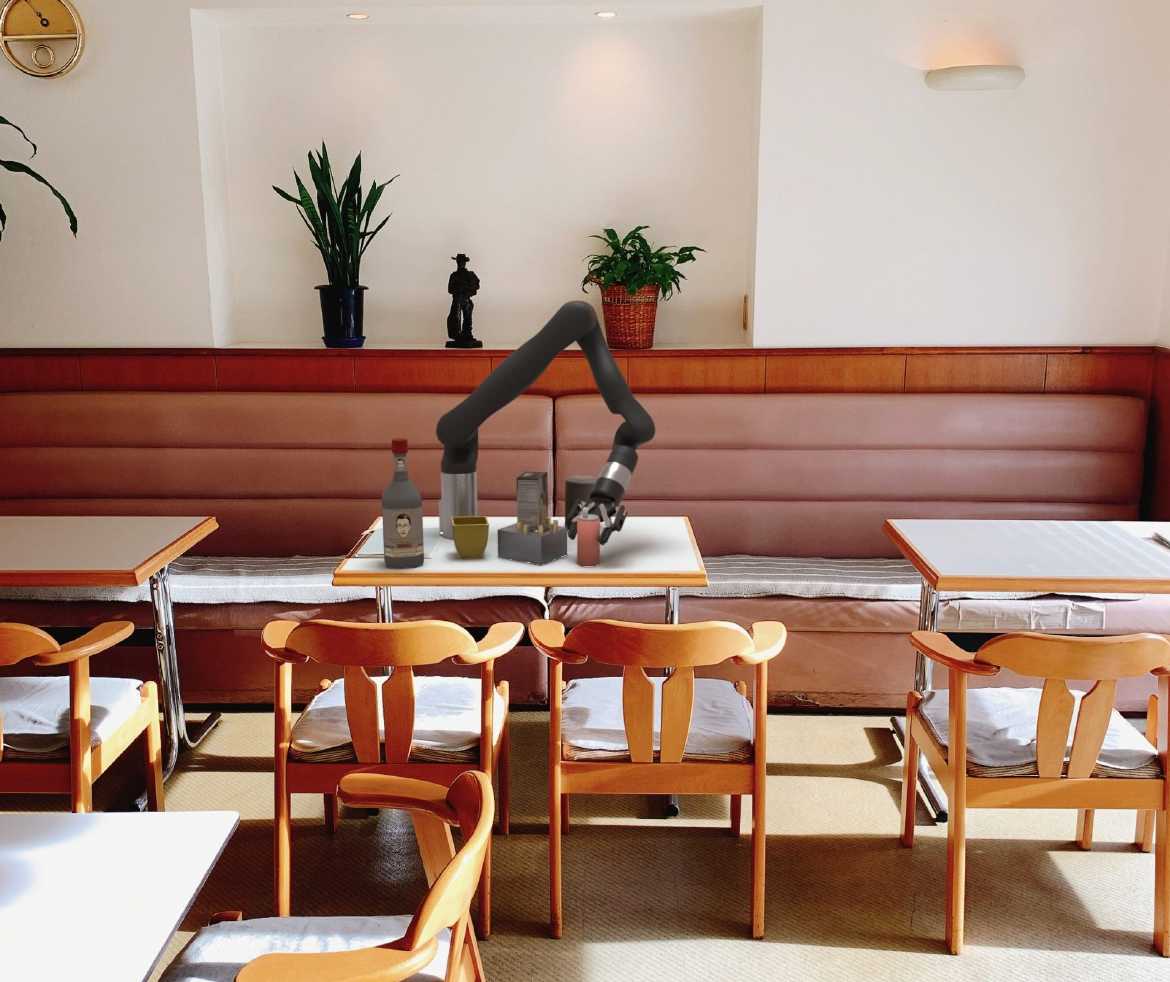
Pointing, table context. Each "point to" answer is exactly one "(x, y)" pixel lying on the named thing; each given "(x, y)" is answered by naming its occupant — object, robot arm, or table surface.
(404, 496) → the liquor
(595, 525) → the spout can
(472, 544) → the flower pot
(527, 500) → the coffee box
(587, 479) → the pillar candle
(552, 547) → the grey block
